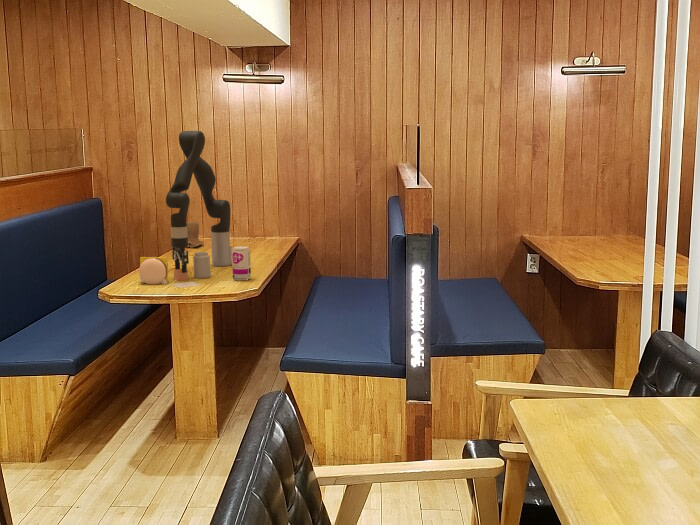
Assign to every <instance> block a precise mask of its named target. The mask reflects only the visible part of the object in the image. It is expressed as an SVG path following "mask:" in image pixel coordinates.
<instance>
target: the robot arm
mask: <svg viewBox="0 0 700 525" xmlns="http://www.w3.org/2000/svg"><path fill="white" fill-rule="evenodd" d="M178 143H179V147H180V149H181V151H182V153H183V154H184V156H185V158H186V159H185V160H184V161H183V163H182V164H181V165H180V166H179V168H178V170H177V172H176V174H175V179H174V183H173V184H172V186H171V187H170V189H169V191H168V192H167V194H166V197H165V204H166V206H167V208H171V209H179V211H178V212H176V213H172V214H171V215H170V239H171V241H170V242H171V243H170V244H171V247H172V248H171V249H172V250H171V251H172V254H171V255H172V260H173V262H174V269H182V273H186V272H187V270H188V266H187V265H188V264H190V263H189V261H190V260H189V250H186V248H188V247H187V246H188V231H187V222H188V220H187V218H188V217H187V216H188V211H189V208H190V203H191V201H190V200H191V199H190V196H189V194H187V193H186V192H185V191H188V190H189V188H190V185H191V181H192V178H193V177H194V179H195V181H196V183H197V185H198V188H199V191H200V193H201V196H202V199H203V201H204V206H205V209H206V212H207V215H208V216H209V217H210V218H212V219H219V222H218V223H216V224H214V225H211V227H210V234H211V235H210V236H211V237H210V238H211V239H210V240H211V262H212V263H211V266H213V267H228V266H231V265H232V250H233V248H232V246H231V239H230V238H231V237H230V234H231V233H230V231H231V230H230V229H231V228H230V227H231V210H232V209H231V208H232V207H231V204H230V202H229V200H226V199H215V198H214V195H213V191H214V188H215V185H216V182H217V180H216V176H215V173H214V170H213V168H212V167H211V165H210V164H209V163H208V162H207V161H206V160H205V159H203V158H202V157H201V155H202V153H203V151H204V148H205V145H206V138H205V134H204V133H203V132H202V131H201V130H183V131H181V132H180V133H179V135H178ZM193 175H194V176H193Z"/></svg>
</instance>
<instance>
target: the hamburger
mask: <svg viewBox="0 0 700 525" xmlns="http://www.w3.org/2000/svg"><path fill="white" fill-rule="evenodd" d="M139 263H140V266H139V268H138V269H139V270H138V274H139V280H140V283H142V284H143V283H145V284H147V285H159V284H161V285H162V284H163V285H165V284H166V285H167V284H168V283H169V269H168V268H169V266H168V257H167V256H159V257H158V256H148V257H147V256H141V257H139Z"/></svg>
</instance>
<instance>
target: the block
mask: <svg viewBox="0 0 700 525" xmlns="http://www.w3.org/2000/svg"><path fill="white" fill-rule="evenodd" d="M173 280H175V281H177V282H178V281H179V282H180V281H188V280H189V270H188V269H187V272H186V273H182V268H180V269H175V268H174V269H173Z"/></svg>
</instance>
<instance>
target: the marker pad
mask: <svg viewBox="0 0 700 525" xmlns="http://www.w3.org/2000/svg"><path fill="white" fill-rule="evenodd" d="M171 285H173V286H175V287H177V288H179V289H180V288H181V289H182V288H191V287H199V286H201V284H199V283H197V282H195V281H187V282H178V283H177V282H176V283H171Z"/></svg>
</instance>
